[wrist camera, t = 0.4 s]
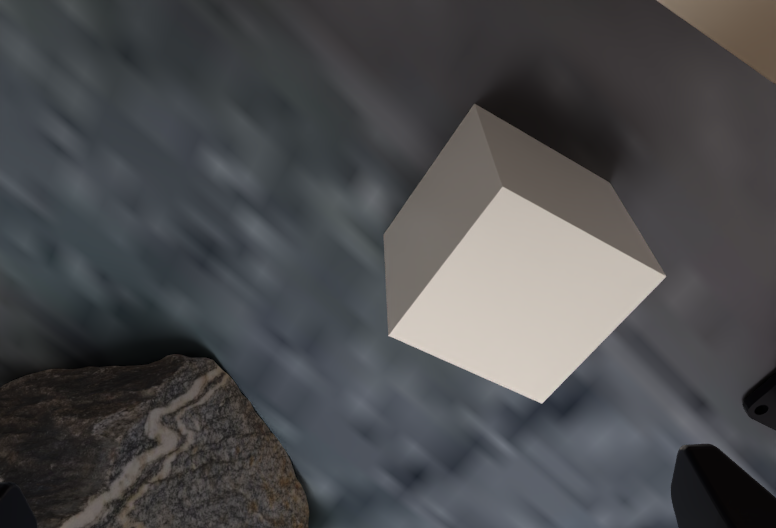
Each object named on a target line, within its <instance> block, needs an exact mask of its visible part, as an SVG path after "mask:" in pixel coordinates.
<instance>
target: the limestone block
mask: <svg viewBox="0 0 776 528" xmlns="http://www.w3.org/2000/svg"><path fill="white" fill-rule="evenodd" d="M384 254H385V274H386V295H387V316H388V336H391V337H393V338H395V339H397V340H400V341H402V342H404V343H406V344H409V345H411V346H413V347H415V348H418V349H420V350H422V351H424V352H427V353H429V354H431V355H433V356H436V357H438V358H440V359H442V360H445V361H447V362H449V363H451V364H454V365H456V366H458V367H460V368H463V369H465V370H467V371H470V372H472V373H474V374H476V375H479V376H481V377H483V378H485V379H488V380H490V381H492V382H494V383H497V384H499V385H501V386H503V387H506V388H508V389H510V390H512V391H515V392H517V393H519V394H521V395H524V396H526V397H528V398H530V399H533V400H535V401H537V402H539V403H543V402H544V401H545V400H546V399H547V398H548V397H549V396H550V395H551V394H552V393H553V392H554V391H555V390H556V389H557V388H558V387H559V386H560V385H561V384H562V383H563V382H564V381H565V380H566V379H567V378H568V377H569V375H570V374H571V373H572V372H573V371H574V370H575V369H576V368H577V367H578V366H579V365H580V364H581V363H582V362H583V361H584V360H585V359H586V358H587V357H588V356H589V355H590V354H591V353H592V352H593V351H594V350H595V349H596V348H597V347H598V346H599V345H600V344H601V343H602V342H603V341H604V340H605V339H606V338H607V337H608V336H609V335H610V334H611V333H612V332H613V331H614V329H615V328H616V327H617V326H618V325H619V324H620V323H621V322H622V321H623V320H624V319H625V318H626V317H627V316H628V315H629V314H630V313H631V312H632V311H633V310H634V309H635V308H636V307H637V306H638V305H639V304H640V303H641V302H642V301H643V300H644V299H645V298H646V297H647V296H648V295H649V294H650V293H651V292H652V291H653V290H654V289H655V288H656V287H657V286H658V284H659V283H660V282H661V281H662V280H663V279H664V278H665V277H666V275H665V273H664V272H663V270H662V268H661V267H660V265H659V263H658V262H657V260H656V258H655V257H654V255H653V253H652V252H651V250H650V248H649V247H648V245H647V244H646V242H645V240H644V239H643V237H642V235H641V234H640V232H639V230H638V229H637V227H636V225H635V224H634V222H633V220H632V219H631V217H630V215H629V214H628V212H627V210H626V209H625V207H624V205H623V204H622V202H621V200H620V199H619V197H618V195H617V194H616V192H615V190H614V189H613V187H612V185H611V184H610V183H609V182H608V181H606V180H604V179H603V178H601V177H599V176H597V175H596V174H594V173H592V172H591V171H589V170H587V169H585V168H584V167H582V166H580V165H579V164H577V163H575V162H574V161H572V160H570V159H568V158H567V157H565V156H563V155H562V154H560V153H558V152H556V151H555V150H553V149H551V148H550V147H548V146H546V145H544V144H543V143H541V142H539V141H538V140H536V139H534V138H532V137H531V136H529V135H527V134H526V133H524V132H522V131H521V130H519V129H517V128H515V127H514V126H512V125H510V124H509V123H507V122H505V121H503V120H502V119H500V118H498V117H497V116H495V115H493V114H491V113H490V112H488V111H486V110H485V109H483V108H481V107H479V106H478V105H476V104H474V105H473V106H472V108H471V109H470V111H469V112H468V113H467V115H466V116H465V118H464V119H463V121H462V122H461V124H460V125H459V126H458V128H457V129H456V131H455V132H454V134H453V135H452V137H451V138H450V139H449V141H448V142H447V144H446V145H445V147H444V148H443V150H442V151H441V152H440V154H439V155H438V157H437V158H436V160H435V161H434V163H433V164H432V165H431V167H430V168H429V170H428V171H427V173H426V174H425V176H424V177H423V178H422V180H421V181H420V183H419V184H418V186H417V187H416V189H415V190H414V191H413V193H412V194H411V196H410V197H409V199H408V200H407V201H406V203H405V204H404V206H403V207H402V209H401V210H400V212H399V213H398V214H397V216H396V217H395V219H394V220H393V222H392V223H391V225H390V226H389V227H388V229H387V230H386V232H385V233H384Z"/></svg>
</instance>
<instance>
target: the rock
mask: <svg viewBox="0 0 776 528" xmlns="http://www.w3.org/2000/svg"><path fill="white" fill-rule="evenodd" d="M0 482H14V483H15V484H17V485H18V486H19V487H20V489H21V491H22V493H23V495H24V496H25V498H26V500H27V502H28V504H29V506H30V508H31V510H32V511H33V513H34V515H35V517H36V520H37V526H38V528H308V522H309V507H308V502H307V497H306V495H305V492H304V490H303V488H302V485H301V484H300V482H299V481H298V480H297V479H296V476H295V473H294V470H293V467H292V463H291V461H290V459H289V457H288V455H287V453H286V451H285V449H284V448H283V447H282V445H281V444H280V442H279V441H278V439H277V438H276V437H275V435H274V434H273V433H270V430H269V428H268V427H267V426H266V424H265V423H264V422H263V420H262V419H261V418H260V417H259V416H258V415H257V414H256V413H255V411H254V409H253V407H252V405H251V403H250V401H249V400H248V399H247V398H246V397H245V396H243V395H242V394H241V392H240V390H239V388H238V387H237V385H236V383H235V382H234V381H233V379H232V378H231V377H230V376H229V375H228V374H227V373H226V372H224V371H223V370H222V369H221V368H220V367H219V366H218V365H217V364H216V362H215V361H214V360H212V359H209V358H190V357H187V356H184V355H179V354H173V355H168V356H166V357H164V358H163V359H161V360H159V361H156V362H153V363H150V364H147V365H136V366H105V367H89V366H88V367H85V368H79V369H49V370H45V371H41V372H37V373H32V374H28V375H26V376H23V377H21V378H18V379H15V380H13V381H11V382H9V383H7V384H5V385H3V386H2V387H1V388H0Z"/></svg>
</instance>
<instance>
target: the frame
mask: <svg viewBox="0 0 776 528" xmlns="http://www.w3.org/2000/svg"><path fill="white" fill-rule="evenodd" d="M657 1H658V2H660V3H661V4H662V5H664V6H665V7H667V8H668V9H669V10H671V11H672V12H674V13H675V14H677V15H678V16H679V17H681V18H682V19H684V20H685V21H686V22H688V23H689V24H691V25H692V26H694V27H695V28H696V29H698V30H699V31H701V32H702V33H704V34H705V35H706V36H708V37H709V38H711V39H712V40H713V41H715V42H716V43H718V44H719V45H721V46H722V47H723V48H725V49H726V50H728V51H729V52H730V53H732V54H733V55H735V56H736V57H738V58H739V59H740V60H742V61H743V62H745V63H746V64H747V65H749V66H750V67H752V68H753V69H755V70H756V71H757V72H759V73H760V74H762V75H763V76H764V77H766V78H767V79H769V80H770V81H772V82H773V83H774V84H776V0H657Z"/></svg>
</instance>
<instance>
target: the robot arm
mask: <svg viewBox="0 0 776 528" xmlns="http://www.w3.org/2000/svg"><path fill="white" fill-rule="evenodd" d="M743 407H744V409H745V411H746V413H747V414H748V416H749V417H750V418H752V419H754V420H756V421H758V422H760V423H762V424H764V425H766V426H768V427H770V428H772V429H774V430H776V373H775V374H774V375H773V376H772V377H771V378H769V379H768V380H767V381H766V382H765V383H764V384H762V385H761V386H760V387H759V388H758V389H756V390H755V391H754V392H753V393H752V394H751V395H749V396H748V397H747V398H746V399H745V400H744V403H743ZM671 498H672V504H673V508H674V512H675V515H676V519H677V523H678V527H679V528H776V498H775V497H774V496H773V495H772V494H771V493H770V492H768V491H767V490H766V489H765V488H764V487H763V486H761V485H760V484H759V483H758V482H757V481H756V480H754V479H753V478H752V477H751V476H750V475H749V474H747V473H746V472H745V471H744V470H743V469H742V468H740V467H739V466H738V465H737V464H736V463H735V462H734V461H732V460H731V459H730V458H729V457H728V456H727V455H725V454H724V453H723V452H722V451H721V450H720V449H718V448H717V447H715V446H713V445H711V444H694V445H684V446H682V447H681V448H680V449H679V451H678V454H677V459H676V464H675V469H674V474H673V479H672V484H671ZM0 528H38V526H37V520H36V517H35V515H34V513H33V511H32V510H31V508H30V506H29V504H28V502H27V500H26V498H25V496H24V495H23V493H22V491H21V489H20V487H19V486H18V485H17V484H15V483H14V482H0Z"/></svg>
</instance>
